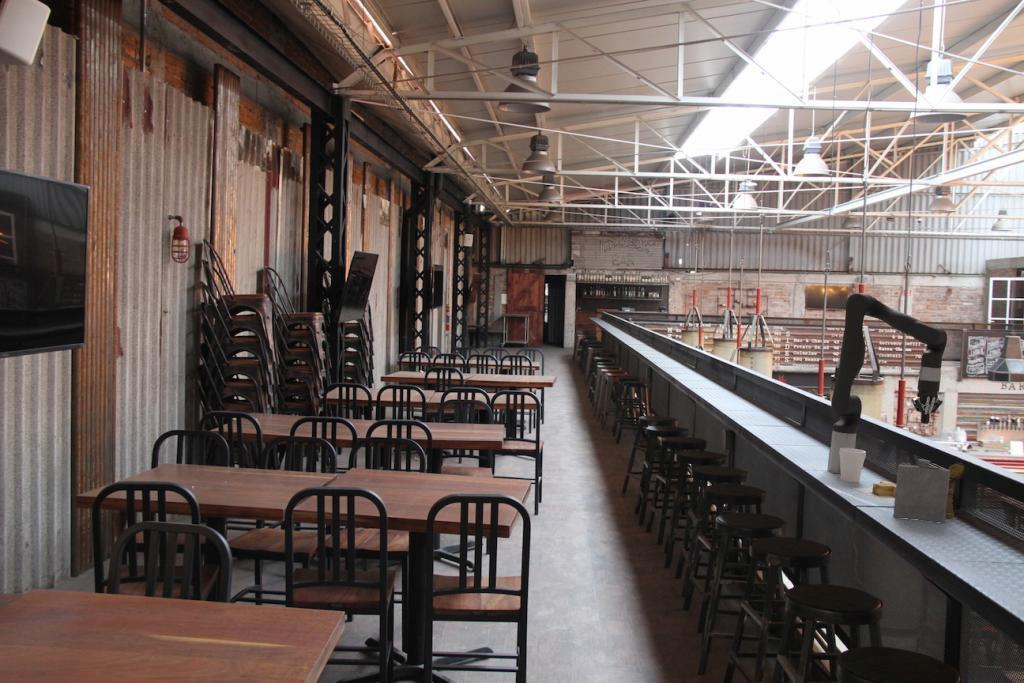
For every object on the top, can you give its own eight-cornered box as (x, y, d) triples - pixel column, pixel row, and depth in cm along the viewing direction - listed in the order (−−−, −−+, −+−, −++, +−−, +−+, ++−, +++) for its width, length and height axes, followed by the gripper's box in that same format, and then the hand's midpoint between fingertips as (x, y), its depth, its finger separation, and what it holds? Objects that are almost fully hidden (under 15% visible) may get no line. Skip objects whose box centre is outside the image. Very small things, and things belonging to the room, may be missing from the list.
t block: (866, 490, 297) (867, 481, 297) (886, 490, 299) (887, 481, 299) (885, 497, 287) (886, 488, 287) (906, 497, 290) (907, 488, 289)
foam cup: (862, 482, 316) (866, 450, 315) (862, 486, 308) (865, 453, 307) (837, 478, 320) (840, 446, 319) (836, 482, 311) (839, 450, 311)
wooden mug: (968, 517, 271) (974, 465, 270) (941, 519, 265) (946, 466, 264) (945, 510, 279) (950, 459, 278) (918, 511, 274) (923, 460, 272)
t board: (850, 490, 300) (851, 487, 300) (890, 490, 305) (890, 487, 304) (884, 503, 282) (885, 500, 282) (926, 503, 287) (926, 500, 287)
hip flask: (894, 518, 263) (900, 458, 261) (891, 514, 267) (896, 456, 265) (946, 523, 260) (952, 463, 259) (941, 520, 264) (948, 461, 263)
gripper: (936, 378, 311) (931, 422, 312) (907, 377, 307) (902, 421, 308) (951, 381, 303) (946, 425, 305) (922, 379, 300) (917, 424, 301)
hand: (924, 423), depth 306 cm, fingers closed
